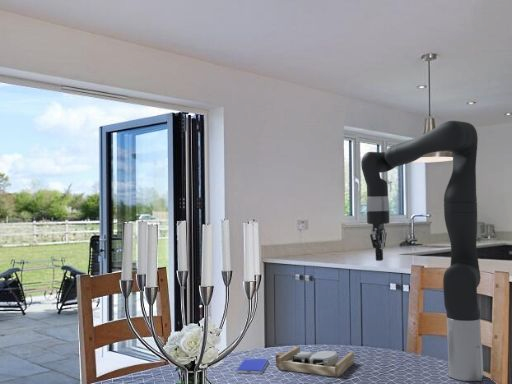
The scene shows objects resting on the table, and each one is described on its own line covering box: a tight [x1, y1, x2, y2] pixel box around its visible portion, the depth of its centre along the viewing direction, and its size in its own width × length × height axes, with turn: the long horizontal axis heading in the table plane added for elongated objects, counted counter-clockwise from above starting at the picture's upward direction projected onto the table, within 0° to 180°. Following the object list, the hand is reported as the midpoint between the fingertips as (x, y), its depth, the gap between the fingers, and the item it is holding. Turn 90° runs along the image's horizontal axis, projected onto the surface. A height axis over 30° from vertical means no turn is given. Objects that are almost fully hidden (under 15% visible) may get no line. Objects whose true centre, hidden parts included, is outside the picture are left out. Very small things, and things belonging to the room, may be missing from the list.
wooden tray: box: [275, 345, 355, 378], centre depth 172 cm, size 22×16×4 cm
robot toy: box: [289, 350, 342, 367], centre depth 171 cm, size 12×4×15 cm
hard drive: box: [235, 358, 270, 375], centre depth 172 cm, size 2×8×12 cm
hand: (379, 260), depth 183 cm, fingers closed
